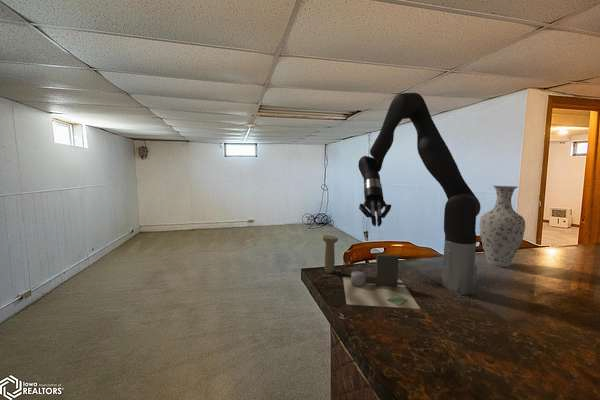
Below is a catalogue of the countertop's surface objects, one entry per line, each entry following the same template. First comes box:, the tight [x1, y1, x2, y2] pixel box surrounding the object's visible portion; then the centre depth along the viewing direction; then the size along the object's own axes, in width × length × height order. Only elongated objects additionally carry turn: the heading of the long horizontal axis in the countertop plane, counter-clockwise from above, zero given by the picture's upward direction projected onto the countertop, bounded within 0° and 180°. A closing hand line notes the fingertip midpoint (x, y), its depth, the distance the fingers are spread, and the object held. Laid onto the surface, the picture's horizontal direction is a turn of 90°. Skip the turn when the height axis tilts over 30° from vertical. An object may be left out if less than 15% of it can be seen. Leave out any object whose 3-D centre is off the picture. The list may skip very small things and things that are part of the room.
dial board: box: [342, 276, 421, 310], centre depth 89 cm, size 21×21×1 cm
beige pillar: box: [322, 234, 339, 274], centre depth 105 cm, size 5×6×15 cm
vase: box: [479, 185, 526, 268], centre depth 118 cm, size 16×16×35 cm
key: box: [350, 254, 410, 286], centre depth 93 cm, size 20×5×10 cm, turn 84°
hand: (377, 225), depth 104 cm, fingers closed
